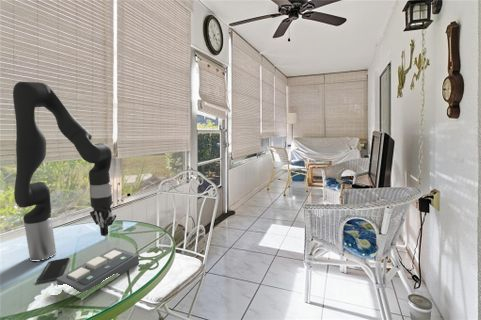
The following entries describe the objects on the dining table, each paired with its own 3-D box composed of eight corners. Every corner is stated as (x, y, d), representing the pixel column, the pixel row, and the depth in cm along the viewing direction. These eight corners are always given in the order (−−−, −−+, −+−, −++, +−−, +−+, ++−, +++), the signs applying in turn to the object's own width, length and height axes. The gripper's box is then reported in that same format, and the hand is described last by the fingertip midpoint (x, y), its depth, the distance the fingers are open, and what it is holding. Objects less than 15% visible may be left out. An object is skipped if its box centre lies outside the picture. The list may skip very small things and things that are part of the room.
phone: (35, 282, 94) (48, 261, 108) (36, 285, 95) (49, 263, 108) (60, 277, 97) (70, 257, 111) (61, 279, 97) (71, 259, 111)
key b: (87, 268, 99) (86, 262, 98) (99, 261, 103) (98, 256, 103) (95, 271, 96) (94, 265, 96) (107, 264, 101) (106, 259, 100)
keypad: (57, 288, 92) (56, 277, 91) (116, 255, 113) (115, 246, 112) (82, 300, 86) (81, 288, 85) (139, 263, 107) (138, 253, 106)
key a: (68, 280, 93) (67, 274, 92) (82, 273, 97) (81, 267, 97) (77, 284, 90) (76, 278, 90) (90, 276, 95) (90, 270, 94)
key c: (103, 261, 105) (103, 255, 105) (114, 255, 109) (113, 249, 109) (112, 264, 103) (111, 258, 102) (122, 258, 107) (122, 252, 107)
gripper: (80, 194, 100) (85, 235, 103) (103, 199, 95) (107, 242, 98) (98, 189, 107) (101, 228, 110) (120, 193, 101) (124, 234, 105)
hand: (104, 235), depth 104 cm, fingers closed
